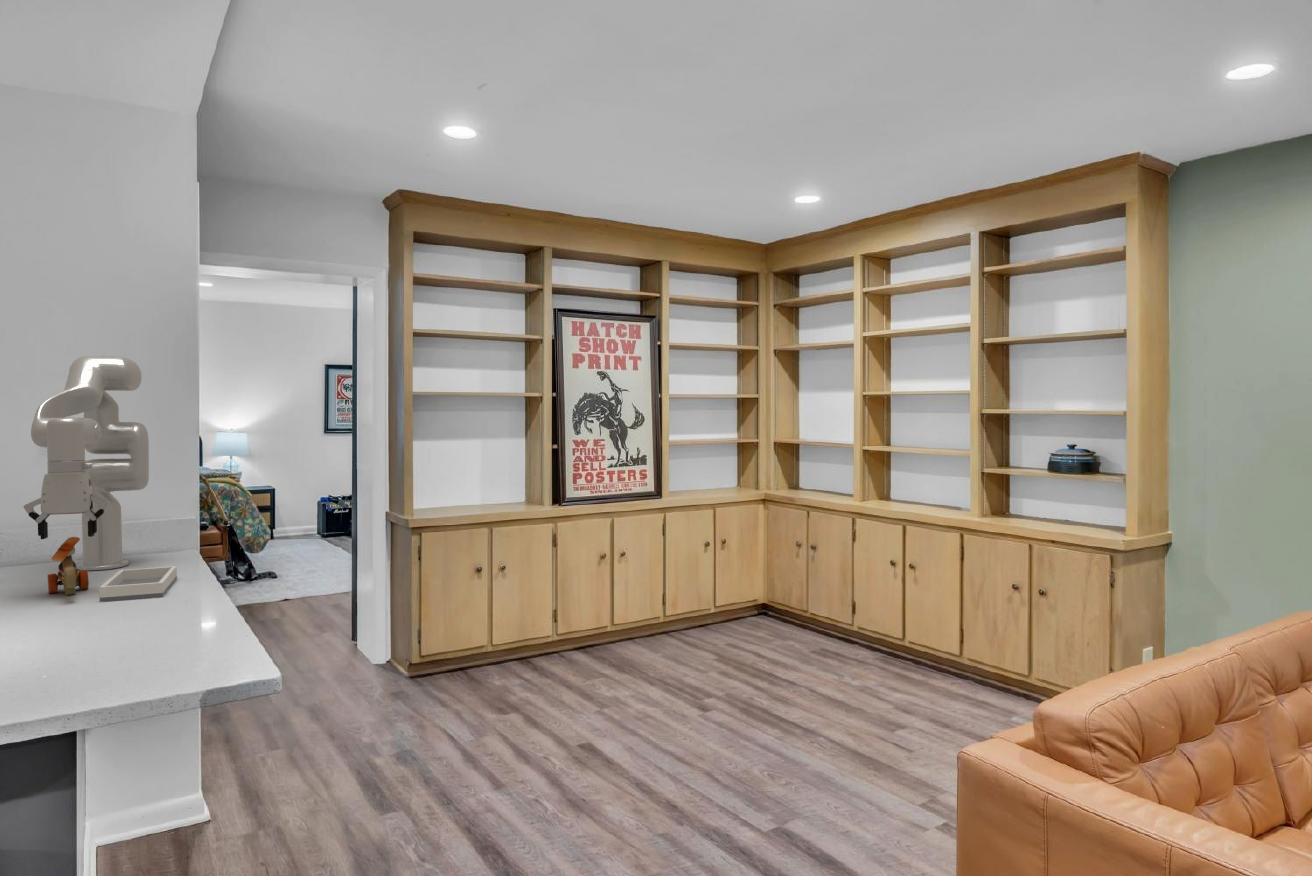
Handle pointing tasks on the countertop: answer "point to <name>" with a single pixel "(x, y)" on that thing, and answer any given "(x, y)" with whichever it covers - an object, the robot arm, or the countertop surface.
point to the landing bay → (138, 583)
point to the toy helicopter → (67, 570)
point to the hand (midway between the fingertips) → (67, 537)
